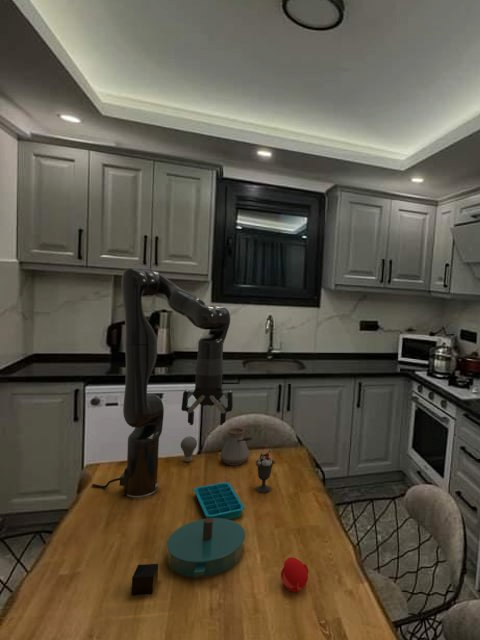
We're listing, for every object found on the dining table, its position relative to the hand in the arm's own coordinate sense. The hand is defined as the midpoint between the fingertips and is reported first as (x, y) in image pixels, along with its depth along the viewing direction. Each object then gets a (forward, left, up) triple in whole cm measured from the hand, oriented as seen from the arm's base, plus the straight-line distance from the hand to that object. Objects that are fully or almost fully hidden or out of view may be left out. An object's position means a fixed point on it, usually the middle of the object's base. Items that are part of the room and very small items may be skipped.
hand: (206, 424), depth 130 cm
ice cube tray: (+4, +7, -30) cm, 31 cm away
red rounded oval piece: (+27, -32, -30) cm, 52 cm away
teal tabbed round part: (+4, -18, -30) cm, 35 cm away
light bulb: (-12, +43, -30) cm, 54 cm away
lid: (+4, -18, -26) cm, 32 cm away
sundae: (+18, +18, -30) cm, 40 cm away
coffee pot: (+8, +38, -30) cm, 49 cm away
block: (-8, -30, -30) cm, 43 cm away
